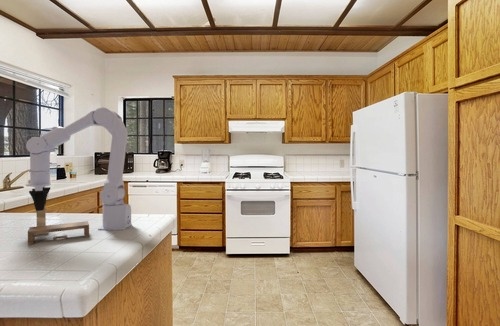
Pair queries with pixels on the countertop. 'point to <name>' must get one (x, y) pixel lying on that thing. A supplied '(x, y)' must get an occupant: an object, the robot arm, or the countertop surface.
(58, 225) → the brown wooden bridge
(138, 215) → the countertop surface
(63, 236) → the silver flat dome
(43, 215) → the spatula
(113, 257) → the countertop surface
